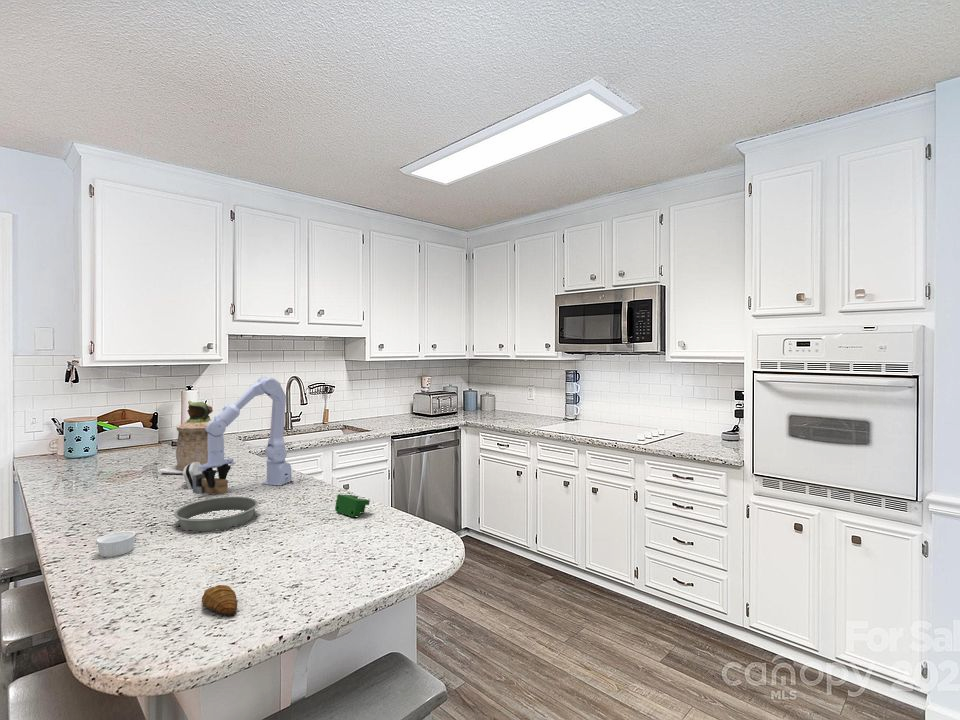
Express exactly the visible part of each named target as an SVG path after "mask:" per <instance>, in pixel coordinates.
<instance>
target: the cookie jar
mask: <svg viewBox="0 0 960 720" xmlns="http://www.w3.org/2000/svg"><path fill="white" fill-rule="evenodd" d="M187 408H188V409H187V414H188V416H189V418H188V419H187V420H186V421H185V422H183V423H182V424H178V425H177V426H176V431H177V433H178V435H177V440H176V449H175V459H176V462H177V464H175V465H171V466H166V467H164V468H159V469H158V471H159V474H160V475H161V474H162V473H163V474H183V470H184V468H185V466H187V465H188V464H191V463H193V462H200V464H201V465H203V464H206V463H207V462H208V444H207V440H208V432H207V431H206V429H205V427H206V426H207V423H208V422H209V421H211V420H212V419H211V417H210V414H212V413H213V412H214V411H213V407H212V406H211V405H208V404H207V403H206V402H203V401H198V402H197V401H196V402H195V401H191V400H188V407H187ZM236 462H237V461H236V459H234V464H235V463H236ZM228 465H230V466H232V465H233V464H228ZM212 469H213V470H216V472H218V470H217V467H216V468H212ZM163 474H162V475H163Z"/></svg>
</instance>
